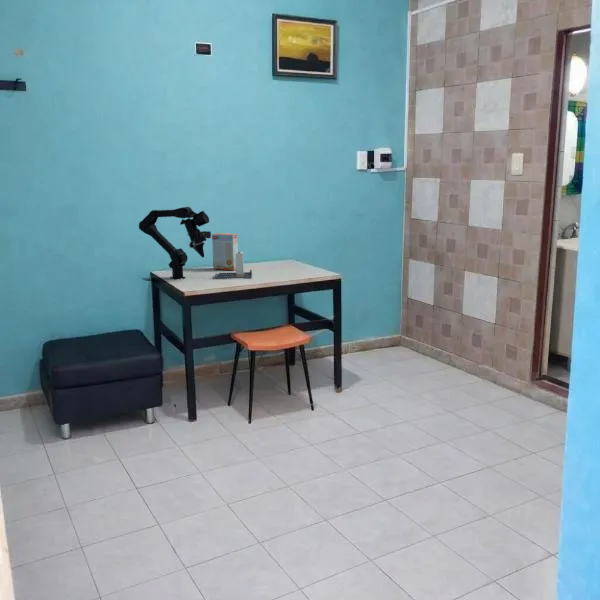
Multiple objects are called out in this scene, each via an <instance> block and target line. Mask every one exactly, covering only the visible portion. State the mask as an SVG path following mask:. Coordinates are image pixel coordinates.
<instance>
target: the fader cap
mask: <svg viewBox="0 0 600 600" xmlns="http://www.w3.org/2000/svg"><path fill="white" fill-rule="evenodd" d="M235 254H236V270H235V273H236V275H243V274H244V272H245V268H244V267H245V264H244V263H245V262H244V251H241V250H238V252H236V253H235Z"/></svg>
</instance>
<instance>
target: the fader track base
mask: <svg viewBox="0 0 600 600" xmlns="http://www.w3.org/2000/svg"><path fill="white" fill-rule="evenodd" d="M252 277H253V270H252V269H249V271H248V272H247V271H246V272H245V271H244V274H243V275H236V272H218V273H215V274H214V275H213V279H214V280H228V279H229V278H243V279H252ZM227 278H228V279H227ZM229 280H230V279H229Z"/></svg>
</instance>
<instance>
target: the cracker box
mask: <svg viewBox="0 0 600 600" xmlns="http://www.w3.org/2000/svg"><path fill="white" fill-rule="evenodd" d="M211 239H212V240H211V244H212V266H213V270H216V269H220V271H221V270H222V271H232V270H234V271H236V254H235V253H236V252H239V242H238V241H239V239H238V233H228V232H227V233H225V232H224V233H222V232H216V233H211Z"/></svg>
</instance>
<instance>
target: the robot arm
mask: <svg viewBox="0 0 600 600" xmlns="http://www.w3.org/2000/svg"><path fill="white" fill-rule="evenodd" d="M172 217H174V218H176V219H177V218H179V219H181V222H180V223H179V224H180V225H181V226H182V225H184V227H185V229H186V232H187V236H188V237H189V240H190V241H189V243H188V246H189V249H193V250H194V251H195V252H196V253H197V254H198V255H199V256H200V257H201V258H205V253H204V245H205V241H207V239H212V232H211V231H207V230H204V231H203V230H202V231H201V229H199V228H198V227H202V226H205V225H206V224H209V223H210V217H209V216H208V214H207V213H206V212H205V210H201V211H200V212H198V213H196V212H195V211H194V210H193V209H192V207H190V206H184V207H183V206H182V207H179V208H175V209H153V210H151V211H149V213H148V214H147V215H146V216H145V217H144V218H142V220H141V221H139V222H138V230H140V231H141V232H142V233H144V234H146V235H147V236H150V237H151V238H152V239H153V240H154V241H156V243H157V245H159V246H161V248H162V249H163V250H164V251H165V253H167V254H168V255H169V259H170V260H171V261H170V262H169V263H168V267H169V269H171V271H172V272H171V273H172V274H171V275H172V276H169V277H170V279H172V280H179V279H180V280H181V278H182V279H186V276H184V268H183V267H185V266H186V263H187V262H188V255H187V252H185V251H184V250H183V249H182V248H176V247H175V246H174V245H173V244H172V243H171V242H170V241H169V240H168V239H167V238H166V237H165V236H164V235H163V234H161V232H160V231H159V230H158V228H157V225H156V223H157V221H158V220H159V219H158V218H172Z"/></svg>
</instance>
